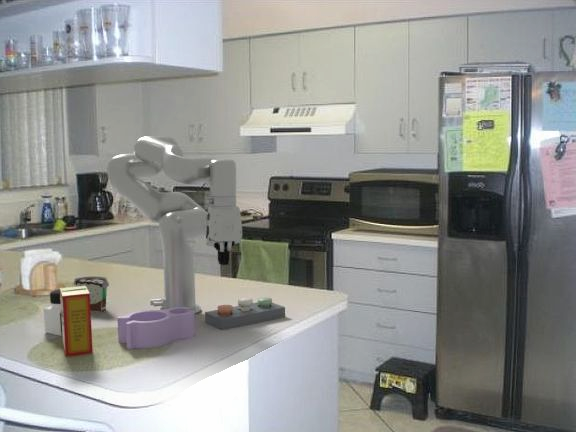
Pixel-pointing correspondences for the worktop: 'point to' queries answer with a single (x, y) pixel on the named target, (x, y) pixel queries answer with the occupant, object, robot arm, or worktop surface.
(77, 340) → the baking soda box
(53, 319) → the medicine bottle
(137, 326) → the clip
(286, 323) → the worktop surface
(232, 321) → the button panel
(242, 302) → the ivory button
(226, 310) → the terracotta button
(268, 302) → the sage button
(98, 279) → the food container
